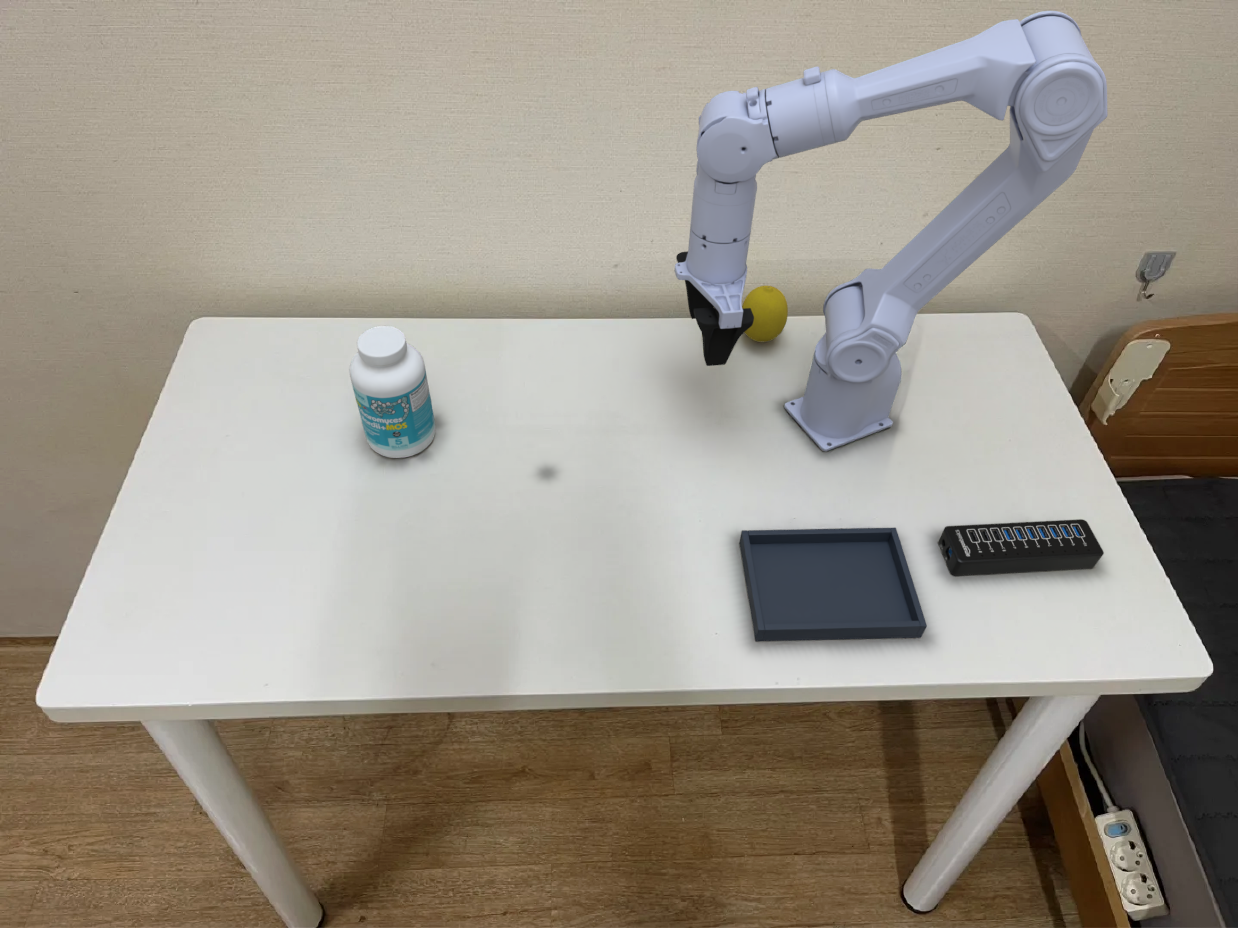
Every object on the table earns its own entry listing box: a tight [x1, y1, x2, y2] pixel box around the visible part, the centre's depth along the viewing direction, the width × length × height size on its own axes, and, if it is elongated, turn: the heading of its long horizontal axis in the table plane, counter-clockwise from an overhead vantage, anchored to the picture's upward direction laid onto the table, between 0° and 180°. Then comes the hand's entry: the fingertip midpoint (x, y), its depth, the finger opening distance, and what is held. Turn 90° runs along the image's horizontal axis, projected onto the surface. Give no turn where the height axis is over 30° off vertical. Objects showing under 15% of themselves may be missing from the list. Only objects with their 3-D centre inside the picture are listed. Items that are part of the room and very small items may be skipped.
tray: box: [738, 527, 928, 643], centre depth 83 cm, size 15×11×2 cm
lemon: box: [742, 285, 789, 343], centre depth 105 cm, size 6×6×8 cm
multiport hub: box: [937, 518, 1105, 577], centre depth 86 cm, size 4×14×2 cm, turn 95°
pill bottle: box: [348, 325, 436, 459], centre depth 91 cm, size 8×7×14 cm
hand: (707, 339), depth 93 cm, fingers open, 7 cm apart
